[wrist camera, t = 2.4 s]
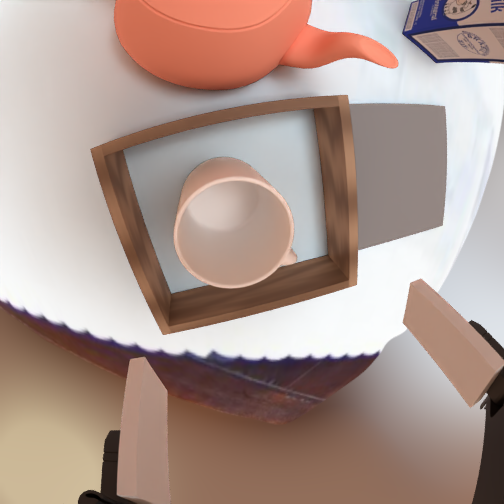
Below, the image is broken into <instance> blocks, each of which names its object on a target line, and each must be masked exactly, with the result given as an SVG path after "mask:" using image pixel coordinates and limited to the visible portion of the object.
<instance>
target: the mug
mask: <svg viewBox="0 0 504 504" xmlns="http://www.w3.org/2000/svg"><path fill="white" fill-rule="evenodd" d="M173 235H174V245H175V249H176V252H177V255H178V257H179V259H180V261H181V263H182V264H183V265H184V267H185V268H186V269H187V270H188V271H189V272H190V273H191V274H192V275H193V276H195V277H196V278H197V279H199V280H201V281H202V282H204V283H207V284H209V285H212V286H215V287H221V288H241V287H246V286H250V285H253V284H255V283H258V282H260V281H262V280H264V279H265V278H267V277H268V276H270V275H271V274H272V273H273V272H275V271H276V270H277V269H278V268H279V267H280V265H291V264H293V263H295V262H296V260H297V255H296V254H295V252H294V251H293V250H292V248H291V246H292V242H293V237H294V222H293V217H292V213H291V210H290V208H289V206H288V204H287V203H286V201H285V199H284V198H283V197H282V196H281V195H280V194H279V192H278V191H277V190H276V189H275V188H273V187H272V186H271V185H270V184H269V183H268V182H267V181H266V180H265V179H264V178H263V177H262V176H261V175H260V174H259V173H258V172H257V171H256V170H255V169H253V168H252V167H251V166H250V165H248V164H247V163H245V162H243V161H241V160H238V159H235V158H230V157H219V158H214V159H210V160H208V161H205V162H203V163H202V164H200V165H199V166H197V167H196V168H195V169H194V170H193V171H192V172H191V173H190V174H189V176H188V177H187V179H186V181H185V183H184V185H183V188H182V192H181V196H180V201H179V205H178V210H177V215H176V220H175V225H174V234H173Z"/></svg>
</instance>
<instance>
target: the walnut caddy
mask: <svg viewBox="0 0 504 504" xmlns="http://www.w3.org/2000/svg"><path fill="white" fill-rule="evenodd" d="M312 108H313V109H314V115H315V122H316V129H317V136H318V144H319V152H320V161H321V170H322V180H323V190H324V202H325V214H326V229H327V246H328V255H326V256H322V257H318V258H314V259H311V260H307V261H303V262H299V263H295V264H291V265H288V266H284V267H280V268H278V269H277V270H276V271H275V272H273V273H272V274H271V275H270V276H268V277H267V278H265V279H264V280H262V281H260V282H258V283H255V284H253V285H250V286H246V287H241V288H221V287H215V286H212V285H207V286H203V287H199V288H195V289H191V290H187V291H182V292H178V293H174V294H171V292H170V290H169V287H168V285H167V282H166V280H165V277H164V275H163V272H162V270H161V267H160V264H159V262H158V259H157V256H156V254H155V251H154V248H153V245H152V243H151V240H150V237H149V234H148V231H147V228H146V225H145V222H144V219H143V216H142V213H141V210H140V207H139V204H138V201H137V198H136V195H135V191H134V188H133V185H132V181H131V178H130V175H129V171H128V168H127V164H126V160H125V157H124V153H123V149H126V148H129V147H132V146H135V145H138V144H141V143H144V142H148V141H151V140H154V139H158V138H161V137H164V136H168V135H172V134H175V133H179V132H183V131H187V130H191V129H195V128H199V127H203V126H207V125H212V124H216V123H221V122H226V121H231V120H236V119H241V118H247V117H252V116H258V115H265V114H271V113H278V112H285V111H293V110H302V109H312ZM90 150H91V153H92V157H93V161H94V164H95V168H96V171H97V174H98V178H99V181H100V184H101V187H102V190H103V194H104V197H105V200H106V203H107V206H108V208H109V211H110V214H111V217H112V220H113V223H114V225H115V228H116V231H117V233H118V236H119V239H120V241H121V244H122V246H123V249H124V251H125V254H126V256H127V259H128V261H129V263H130V266H131V268H132V270H133V273H134V275H135V277H136V280H137V282H138V284H139V286H140V289H141V291H142V293H143V295H144V297H145V299H146V302H147V304H148V306H149V308H150V310H151V312H152V314H153V316H154V318H155V320H156V322H157V324H158V326H159V328H160V330H161V332H162V334H163V335H166V334H171V333H175V332H180V331H185V330H190V329H194V328H199V327H203V326H208V325H212V324H217V323H221V322H225V321H229V320H233V319H238V318H242V317H246V316H250V315H254V314H258V313H261V312H265V311H269V310H273V309H277V308H280V307H284V306H288V305H291V304H295V303H298V302H302V301H305V300H309V299H312V298H316V297H319V296H322V295H326V294H329V293H332V292H336V291H339V290H342V289H345V288H349V287H352V286H355V285H357V268H358V209H357V184H356V168H355V154H354V143H353V133H352V124H351V116H350V108H349V100H348V95H336V96H319V97H307V98H296V99H287V100H279V101H271V102H264V103H257V104H251V105H245V106H239V107H234V108H229V109H224V110H219V111H214V112H209V113H205V114H201V115H196V116H192V117H188V118H184V119H180V120H177V121H173V122H169V123H166V124H162V125H159V126H155V127H152V128H149V129H145V130H142V131H139V132H136V133H133V134H130V135H127V136H124V137H121V138H119V139H116V140H113V141H110V142H108V143H105V144H102V145H100V146H97V147H95V148H92V149H90Z"/></svg>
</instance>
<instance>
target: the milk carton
mask: <svg viewBox="0 0 504 504" xmlns="http://www.w3.org/2000/svg"><path fill="white" fill-rule="evenodd" d="M403 35H404V36H406V37H407V38H408V39H409V40H411V41H412V42H413V43H414V44H415V45H417V46H418V47H419V48H420V49H421V50H422V51H423V52H425V53H426V54H427V55H428V56H429V57H430V58H431V59H432V60H433V61H434V62H436V63H444V62H484V63H501V64H504V0H417V1H414V2H412V3H411V6H410V10H409V13H408V17H407V20H406V23H405V27H404V30H403Z"/></svg>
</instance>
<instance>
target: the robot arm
mask: <svg viewBox="0 0 504 504" xmlns="http://www.w3.org/2000/svg"><path fill="white" fill-rule="evenodd" d="M403 324H404V325H405V326H406V327H407V328H408V329H409V330H410V332H411V333H412V334H413V335H414V337H415V338H416V339H417V340H418V341H419V343H420V344H421V345H422V346H423V347H424V348H425V350H426V351H427V352H428V354H429V355H430V356H431V357H432V358H433V360H434V361H435V362H436V363H437V365H438V366H439V367H440V368H441V370H442V371H443V372H444V374H445V375H446V376H447V378H448V379H449V380H450V381H451V383H452V384H453V385H454V387H455V388H456V389H457V391H458V392H459V393H460V395H461V396H462V397H463V399H464V400H465V402H466V403H467V404H468V405H469V407H472V406H473V405H475V404H476V403H477V402H478V401H480V400H481V399H482V397H483V396H484V394H485V393H487V394H488V396H487V397H486V399H485V400H484V401H483V403H482V404H481V406H480V409H482V408H483V407H484V406H485V404H486V406H485V408H484V409H486V421H485V434H484V443H483V444H484V445H483V451H482V459H481V465H480V470H479V476H478V481H477V485H476V490H475V494H474V498H473V502H472V504H504V348H503V347H502V346H501V345H500V344H499V343H498V342H497V341H496V340H495V339H494V338H492V336H491V335H490V334H489V333H487V331H486V330H485V329H484V328H483V327H482V326H481V325H480V324H478V323H476V322H474V321H472V320H471V321H470V322H467V321H466V320H465V319H464V318H463V317H462V316H461V315H460V314H459V313H458V312H457V311H456V310H455V309H454V308H453V307H452V306H451V305H450V304H448V303H447V302H446V301H445V300H444V299H443V298H442V297H441V296H440V295H439V294H438V293H437V292H436V291H434V290H433V289H432V288H431V287H430V286H429V285H428V284H427V283H425V282H424V281H423V280H422V279H419V280H416V281H414V282H411V283H410V288H409V294H408V299H407V304H406V310H405V314H404V319H403ZM103 461H104V462H103V465H102V479H101V493H99V492H96V491H94V490H88V491H85V492H83V493H82V494H81V495H80V497H79V500H78V504H171V500H170V487H169V471H168V445H167V390H166V388H165V387H164V385H163V384H162V382H161V381H160V380H159V378H158V377H157V375H156V374H155V372H154V371H153V369H152V368H151V366H150V364H149V363H148V361H147V360H146V358H145V357H141V358H135V359H130V363H129V369H128V375H127V382H126V389H125V396H124V404H123V412H122V421H121V430H118V431H117V430H116V431H115V430H114V431H110V432H109V434H108V435H107V438H106V439H105V444H104V454H103Z"/></svg>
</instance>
